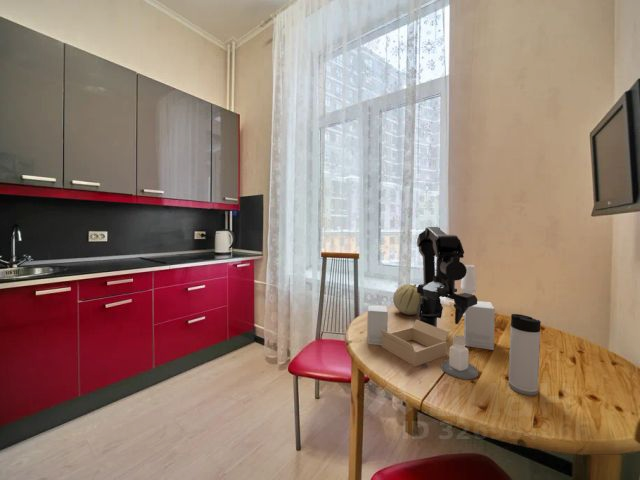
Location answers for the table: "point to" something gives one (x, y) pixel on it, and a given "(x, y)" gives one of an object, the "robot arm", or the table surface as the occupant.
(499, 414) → the table surface
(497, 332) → the table surface
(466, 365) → the salt shaker
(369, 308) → the supplement box
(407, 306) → the cantaloupe
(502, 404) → the table surface
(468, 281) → the champagne flute
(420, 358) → the carton
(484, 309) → the supplement box
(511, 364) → the travel mug
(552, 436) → the table surface
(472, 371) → the coaster
